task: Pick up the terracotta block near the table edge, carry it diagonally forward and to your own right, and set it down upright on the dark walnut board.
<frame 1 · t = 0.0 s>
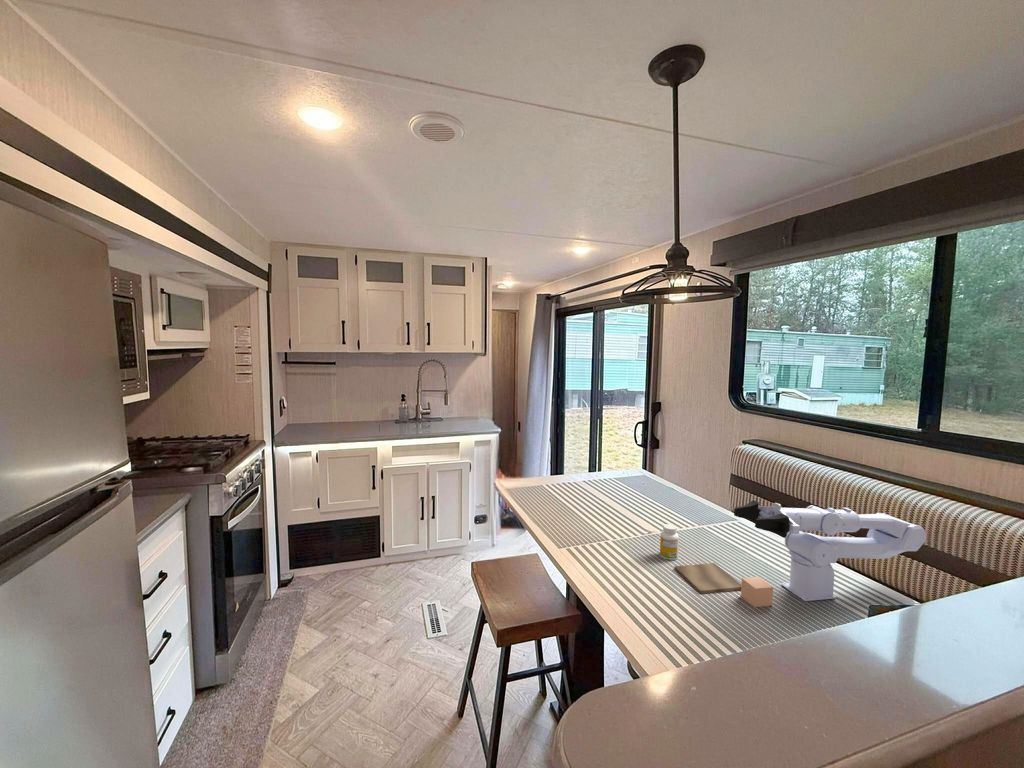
hand: (745, 517, 107), 22 cm above the table, tool horizontal, fingers open, 7 cm apart
terracotta block: (756, 600, 108), on the table
supplement bottle: (668, 556, 132), on the table
walnut board: (707, 578, 118), on the table
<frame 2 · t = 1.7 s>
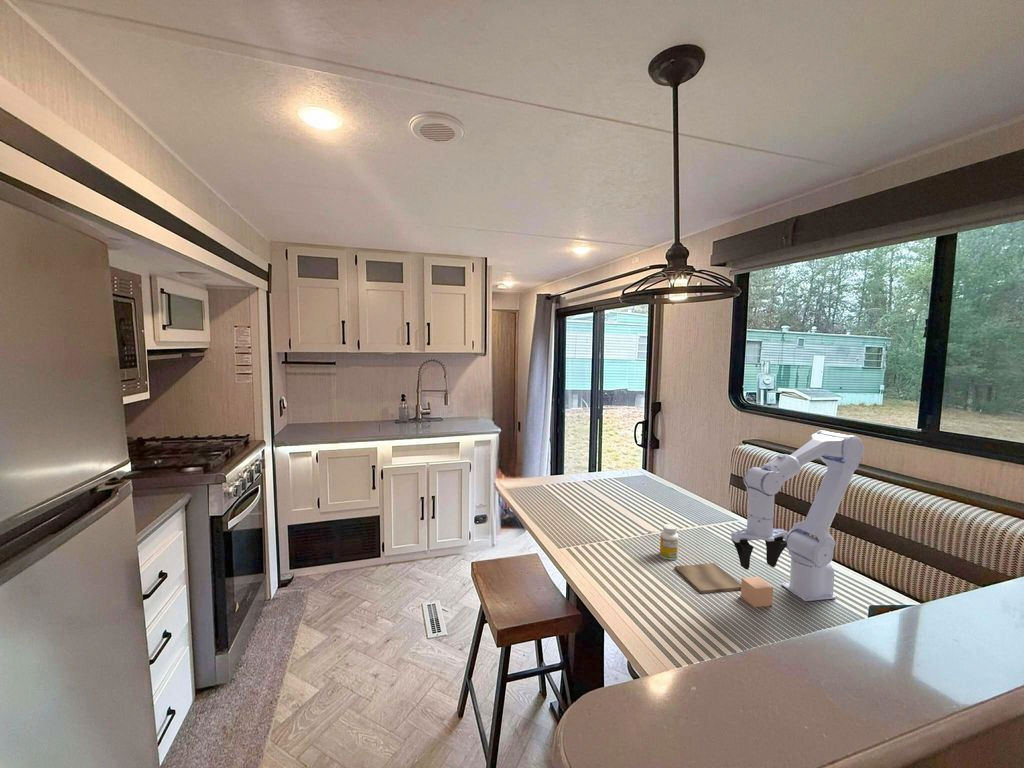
hand: (757, 566, 107), 9 cm above the table, tool pointing down, fingers open, 7 cm apart
nothing on the table moved.
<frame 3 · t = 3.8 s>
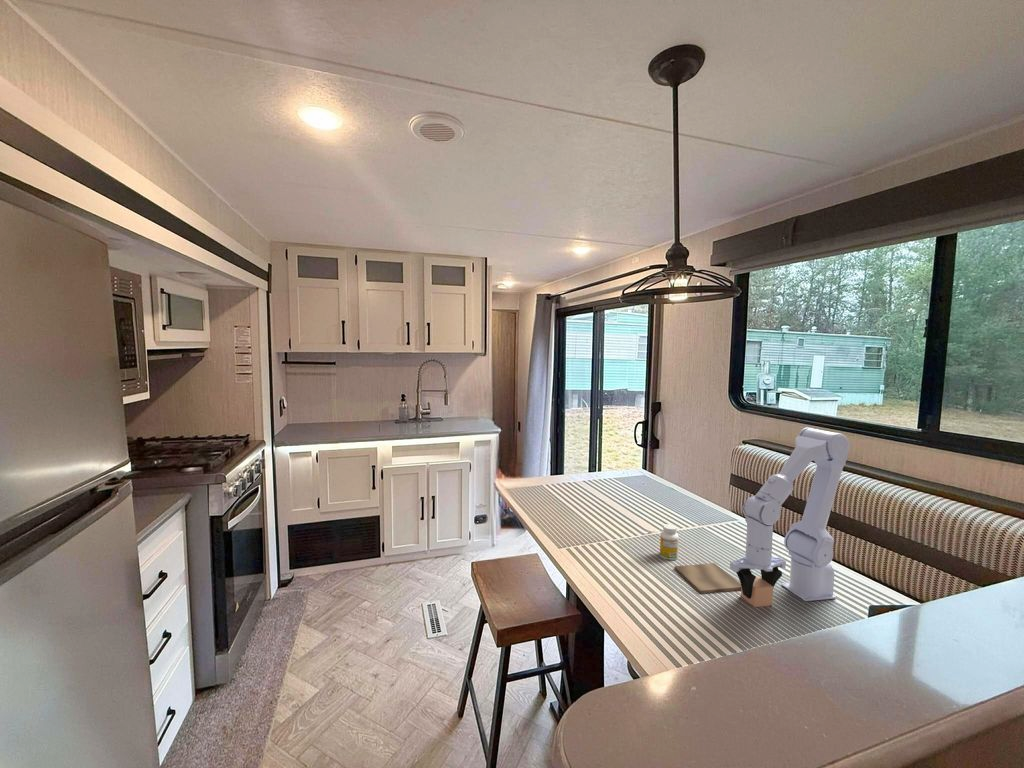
hand: (756, 595, 108), 1 cm above the table, tool pointing down, fingers closed on terracotta block, 5 cm apart
terracotta block: (756, 600, 108), on the table, touching gripper
everything else where it was.
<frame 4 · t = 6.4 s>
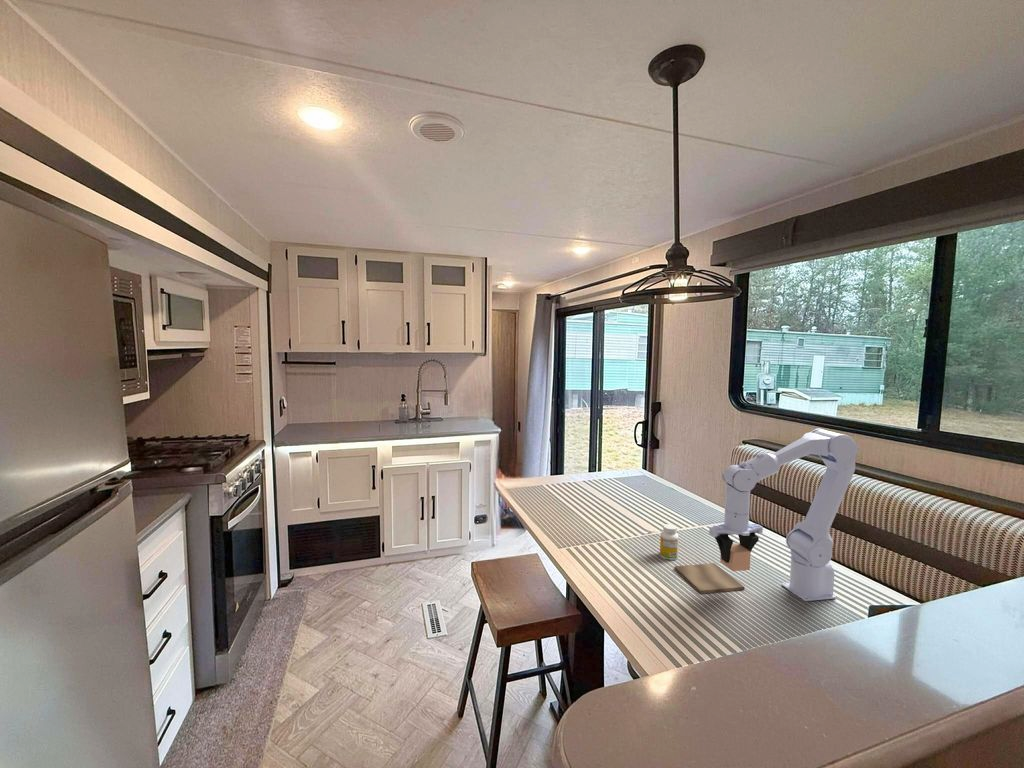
hand: (734, 560, 112), 8 cm above the table, tool pointing down, fingers closed on terracotta block, 5 cm apart
terracotta block: (734, 565, 112), point 7 cm above the table, touching gripper
everything else where it was.
when the fingers open (3 cm above the table, at t = 9.3 s): terracotta block drops 1 cm, resting on walnut board.
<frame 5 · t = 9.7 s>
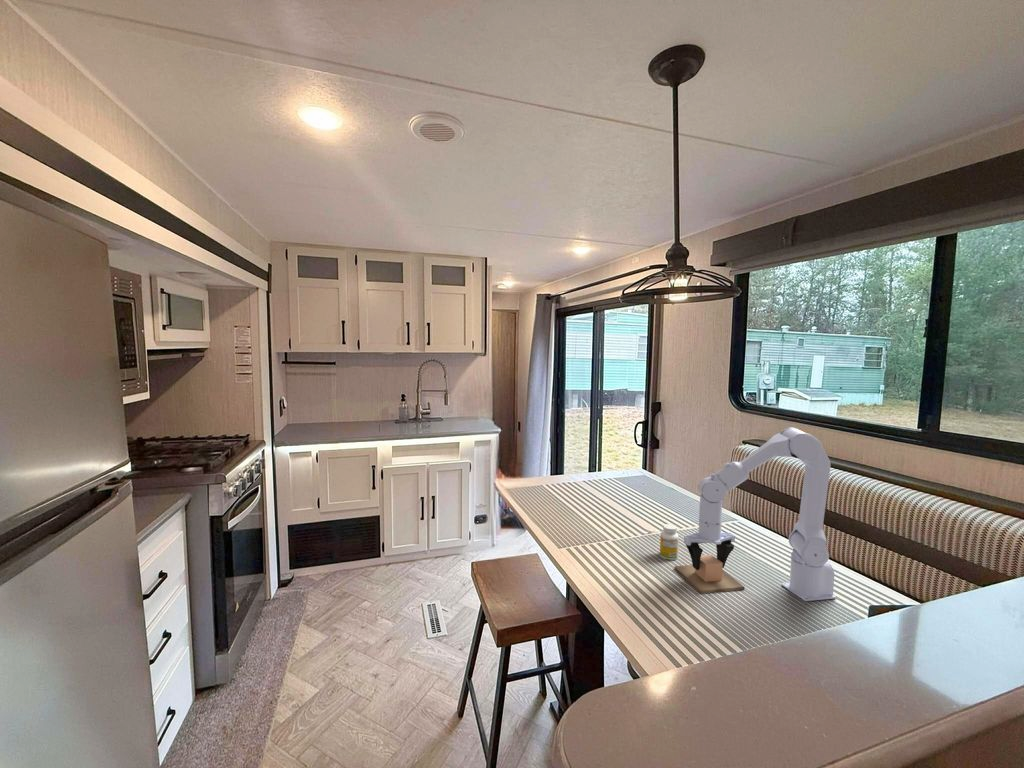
hand: (708, 567, 118), 3 cm above the table, tool pointing down, fingers open, 7 cm apart
terracotta block: (708, 576, 118), point 1 cm above the table, touching walnut board
everything else where it was.
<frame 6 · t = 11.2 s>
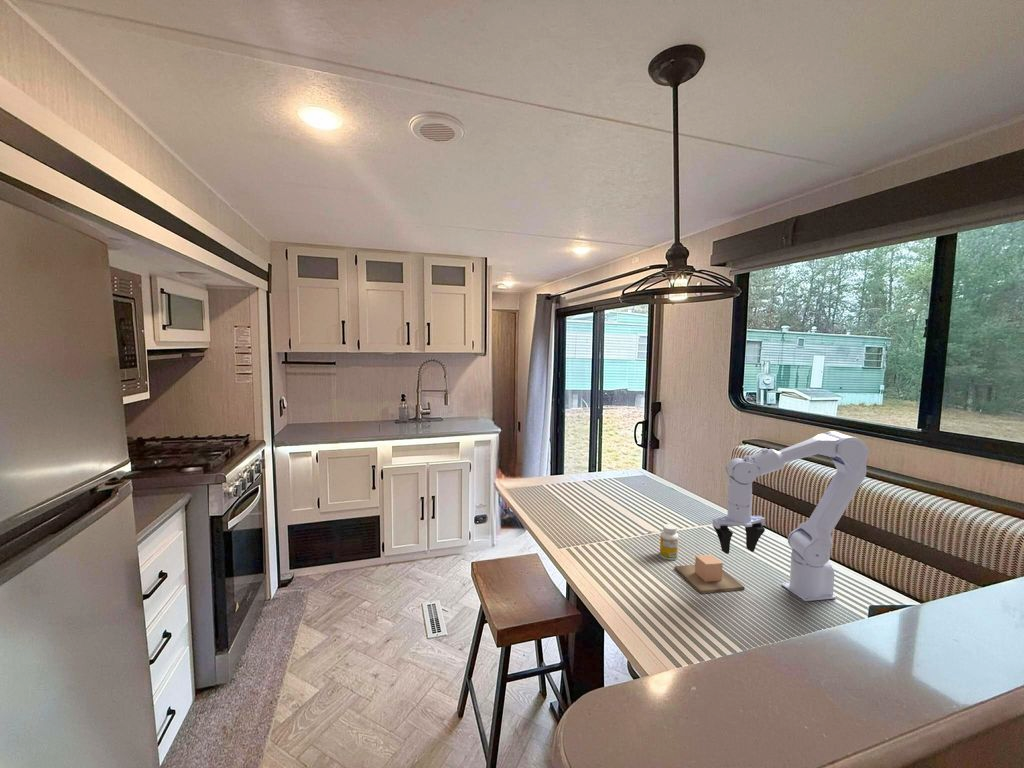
hand: (737, 551, 115), 10 cm above the table, tool pointing down, fingers open, 7 cm apart
nothing on the table moved.
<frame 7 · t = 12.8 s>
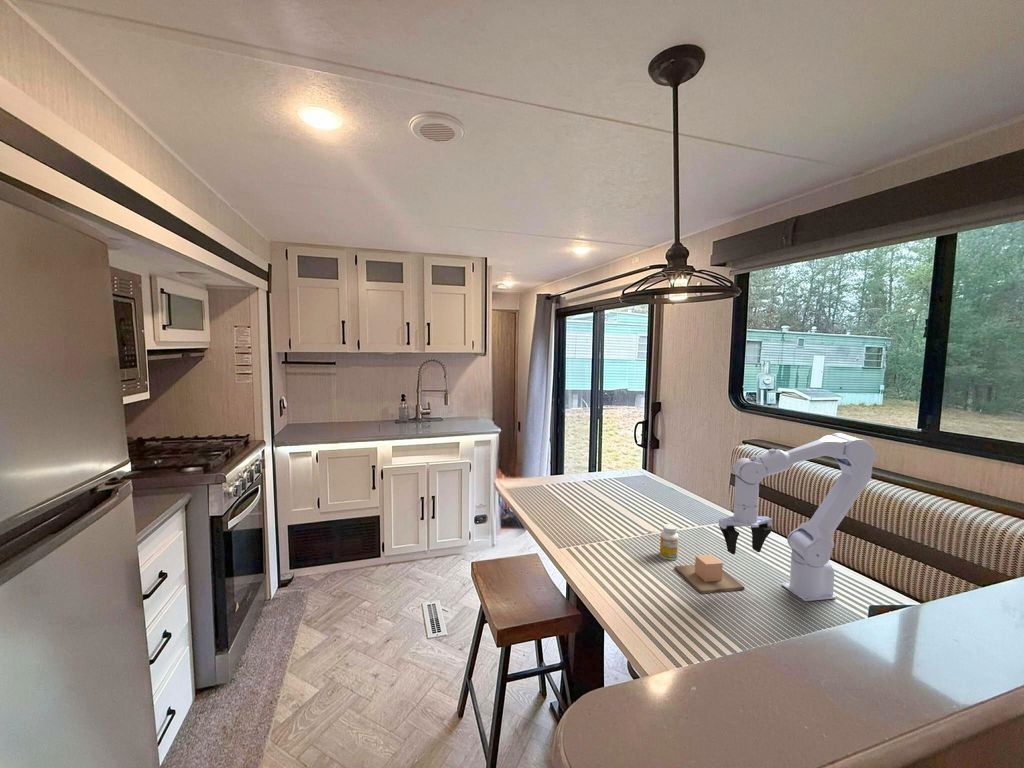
hand: (743, 551, 114), 10 cm above the table, tool pointing down, fingers open, 7 cm apart
nothing on the table moved.
at the end: terracotta block inside the target area on the walnut board (0.2 cm from its centre), point 0.8 cm above the walnut board's base; terracotta block tilted 0°; the gripper is holding nothing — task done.
